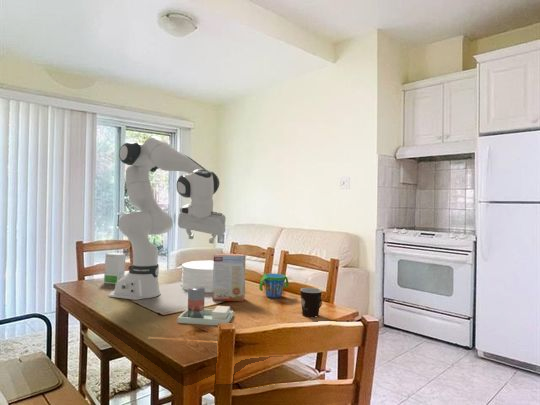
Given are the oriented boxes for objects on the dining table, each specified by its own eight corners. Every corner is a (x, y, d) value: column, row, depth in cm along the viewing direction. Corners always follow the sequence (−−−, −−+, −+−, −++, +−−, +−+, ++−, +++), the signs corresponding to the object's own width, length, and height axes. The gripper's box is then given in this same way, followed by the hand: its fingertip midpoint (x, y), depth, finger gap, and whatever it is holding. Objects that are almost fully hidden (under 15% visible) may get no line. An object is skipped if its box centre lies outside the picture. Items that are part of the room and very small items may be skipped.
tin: (185, 320, 134) (186, 290, 134) (190, 315, 140) (190, 286, 140) (201, 321, 134) (202, 291, 134) (205, 316, 140) (206, 287, 140)
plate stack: (221, 279, 213) (221, 259, 213) (244, 289, 189) (245, 267, 189) (174, 283, 197) (174, 262, 197) (192, 295, 174) (193, 271, 174)
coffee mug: (299, 311, 152) (299, 287, 152) (319, 312, 152) (320, 288, 152) (300, 320, 140) (301, 294, 140) (323, 321, 140) (323, 295, 140)
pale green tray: (177, 324, 131) (177, 317, 131) (188, 314, 143) (188, 308, 143) (226, 327, 130) (227, 320, 130) (233, 317, 142) (233, 310, 142)
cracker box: (244, 298, 169) (246, 253, 170) (242, 302, 163) (244, 255, 164) (215, 297, 171) (216, 252, 171) (211, 300, 165) (213, 254, 165)
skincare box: (103, 283, 192) (104, 253, 192) (110, 280, 198) (111, 252, 198) (118, 284, 190) (119, 254, 190) (125, 281, 197) (126, 253, 197)
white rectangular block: (211, 322, 132) (212, 311, 132) (216, 316, 140) (217, 305, 140) (225, 323, 132) (225, 312, 132) (229, 317, 140) (230, 306, 140)
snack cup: (282, 292, 184) (283, 272, 184) (293, 297, 174) (294, 276, 174) (254, 295, 177) (255, 274, 177) (264, 300, 167) (264, 278, 167)
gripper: (228, 211, 149) (227, 242, 154) (183, 203, 154) (183, 233, 159) (222, 216, 144) (221, 248, 148) (176, 207, 149) (176, 239, 153)
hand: (201, 240), depth 153 cm, fingers open, 8 cm apart
